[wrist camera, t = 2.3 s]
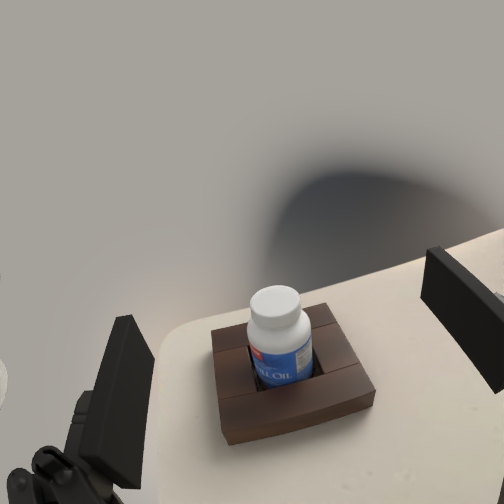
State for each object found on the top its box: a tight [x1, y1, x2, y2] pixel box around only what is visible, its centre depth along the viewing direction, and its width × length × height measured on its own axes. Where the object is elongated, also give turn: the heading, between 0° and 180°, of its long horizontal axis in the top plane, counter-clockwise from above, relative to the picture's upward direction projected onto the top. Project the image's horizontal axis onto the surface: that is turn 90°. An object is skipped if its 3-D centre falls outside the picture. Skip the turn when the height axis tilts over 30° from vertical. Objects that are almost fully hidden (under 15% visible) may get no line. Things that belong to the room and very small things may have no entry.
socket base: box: [211, 303, 376, 445], centre depth 29 cm, size 13×13×2 cm
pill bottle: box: [247, 285, 313, 390], centre depth 27 cm, size 6×5×10 cm
